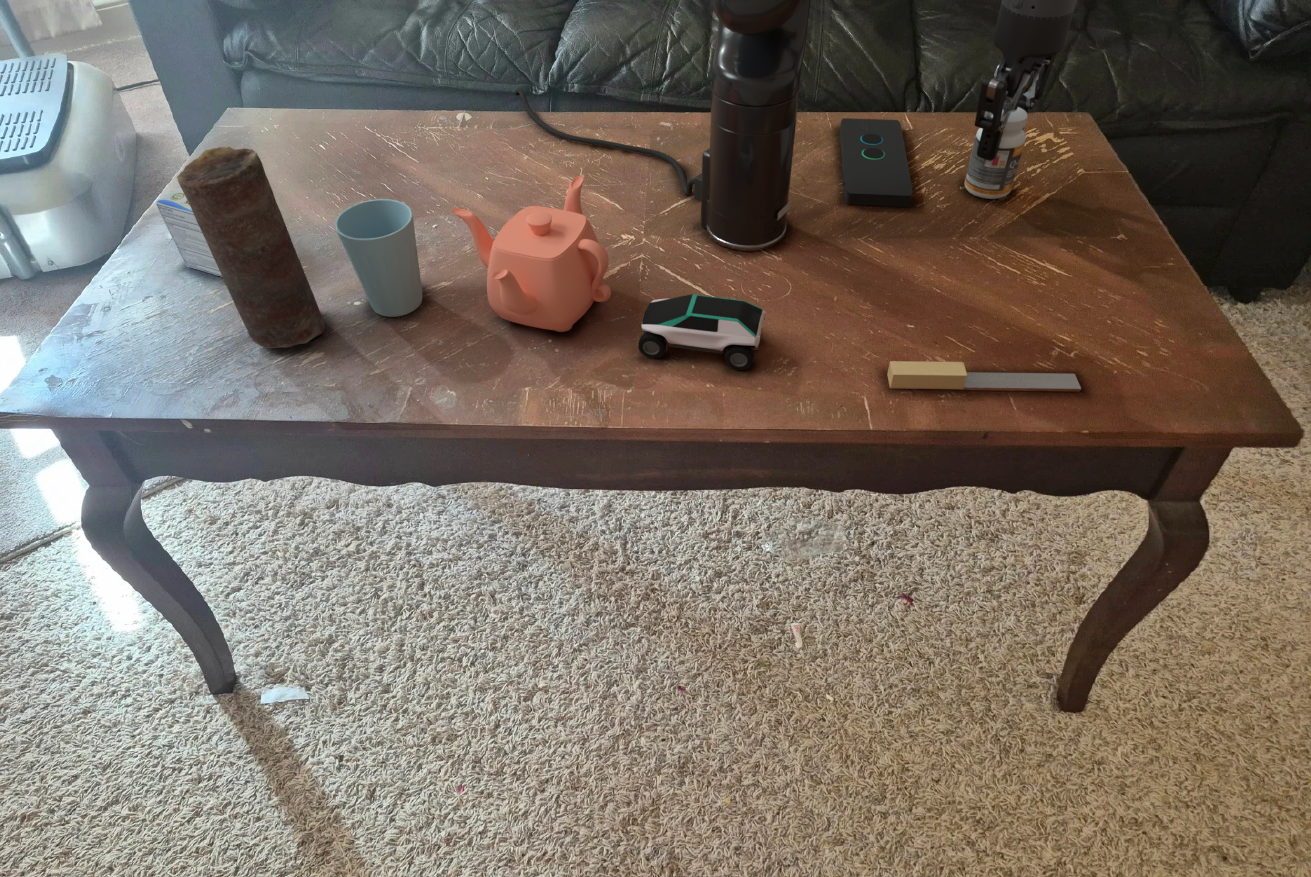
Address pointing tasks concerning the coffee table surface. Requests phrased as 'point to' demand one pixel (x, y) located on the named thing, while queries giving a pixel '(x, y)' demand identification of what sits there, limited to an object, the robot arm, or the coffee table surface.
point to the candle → (251, 246)
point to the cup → (383, 254)
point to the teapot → (542, 264)
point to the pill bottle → (998, 161)
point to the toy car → (703, 327)
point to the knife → (973, 378)
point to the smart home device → (874, 163)
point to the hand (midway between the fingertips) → (998, 147)
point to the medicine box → (186, 232)
